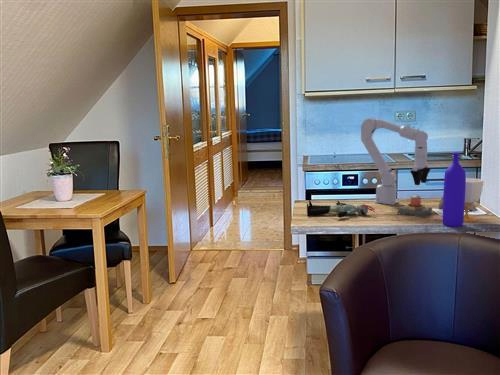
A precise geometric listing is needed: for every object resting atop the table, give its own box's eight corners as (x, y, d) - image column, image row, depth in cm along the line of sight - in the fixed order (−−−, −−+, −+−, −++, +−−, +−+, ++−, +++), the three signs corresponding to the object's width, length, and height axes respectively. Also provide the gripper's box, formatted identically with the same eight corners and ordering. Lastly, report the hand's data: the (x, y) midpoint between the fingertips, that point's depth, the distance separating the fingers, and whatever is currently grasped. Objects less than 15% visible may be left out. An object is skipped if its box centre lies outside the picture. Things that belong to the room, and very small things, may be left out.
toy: (310, 195, 250) (374, 193, 243) (311, 210, 251) (374, 209, 244) (304, 206, 226) (374, 204, 219) (305, 223, 227) (375, 221, 220)
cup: (455, 222, 216) (457, 182, 213) (448, 215, 228) (450, 177, 225) (484, 222, 215) (487, 182, 212) (476, 216, 226) (478, 177, 223)
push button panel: (398, 213, 234) (398, 205, 233) (406, 209, 241) (406, 202, 240) (424, 216, 226) (424, 208, 226) (431, 213, 233) (432, 205, 233)
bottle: (456, 228, 206) (459, 154, 201) (437, 224, 212) (440, 152, 207) (467, 225, 211) (471, 152, 205) (449, 221, 217) (452, 151, 212)
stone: (476, 221, 241) (474, 203, 246) (479, 209, 233) (477, 191, 238) (437, 219, 245) (436, 202, 250) (440, 208, 237) (439, 190, 242)
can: (408, 208, 233) (408, 195, 232) (413, 206, 236) (413, 193, 235) (417, 209, 230) (417, 196, 229) (422, 207, 233) (422, 194, 232)
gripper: (423, 158, 240) (422, 186, 242) (434, 154, 250) (434, 182, 253) (408, 157, 244) (408, 185, 246) (420, 154, 255) (420, 181, 257)
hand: (420, 183), depth 250 cm, fingers open, 7 cm apart
